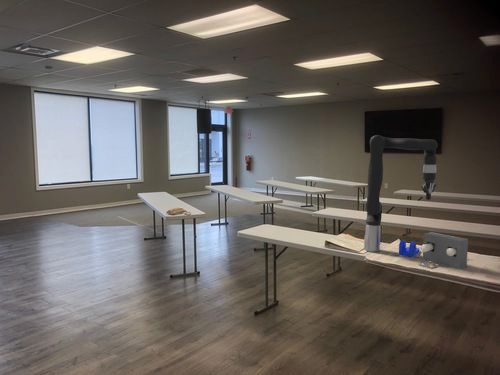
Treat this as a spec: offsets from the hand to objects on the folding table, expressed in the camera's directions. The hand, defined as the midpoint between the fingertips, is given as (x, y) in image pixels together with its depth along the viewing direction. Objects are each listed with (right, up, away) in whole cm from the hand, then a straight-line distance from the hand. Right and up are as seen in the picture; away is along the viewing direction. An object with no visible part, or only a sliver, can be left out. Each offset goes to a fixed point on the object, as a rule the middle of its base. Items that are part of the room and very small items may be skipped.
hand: (428, 199), depth 244 cm
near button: (+5, -31, -22) cm, 38 cm away
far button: (-6, -30, -14) cm, 34 cm away
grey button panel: (+2, -37, -15) cm, 40 cm away
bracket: (-9, -35, +7) cm, 37 cm away
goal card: (-10, -38, -21) cm, 44 cm away
